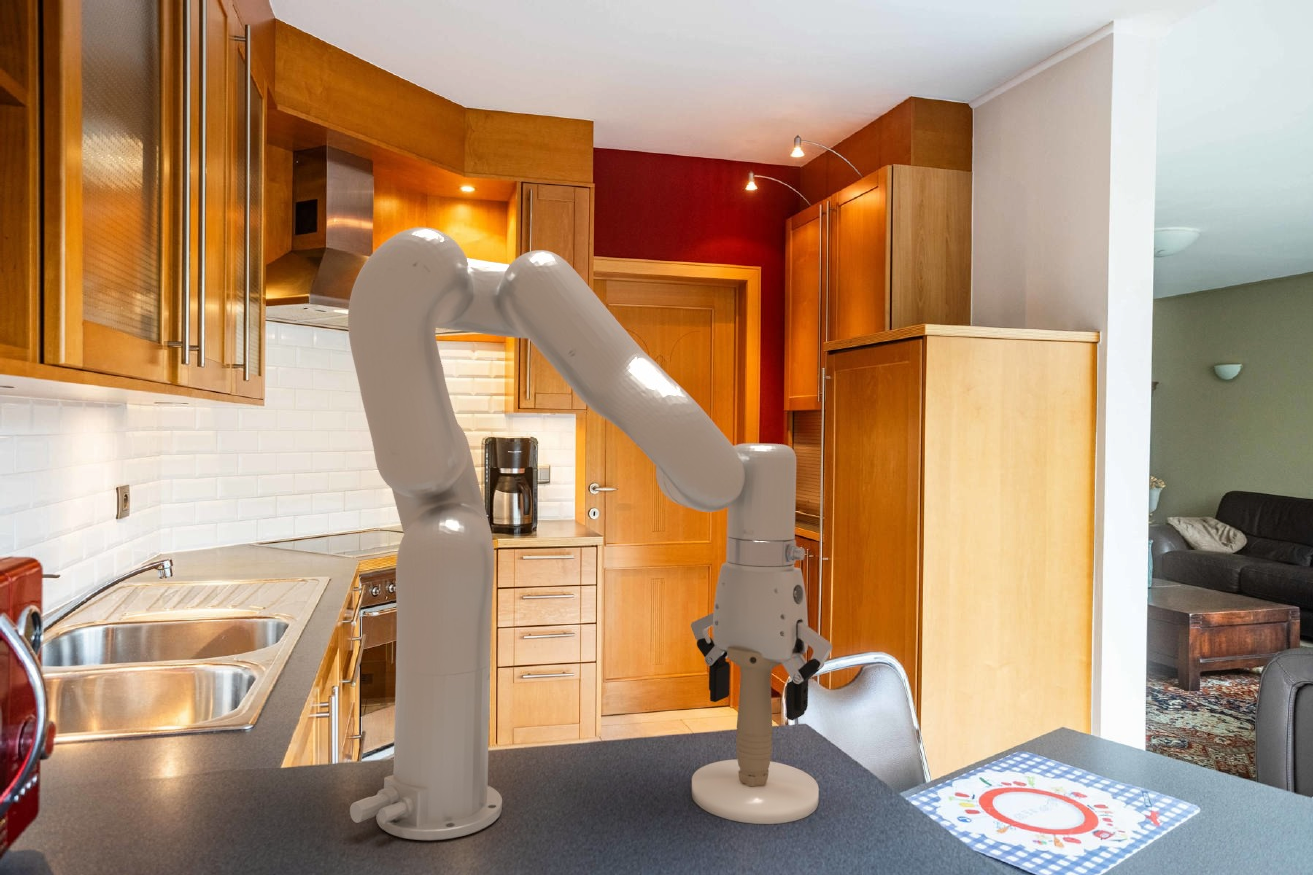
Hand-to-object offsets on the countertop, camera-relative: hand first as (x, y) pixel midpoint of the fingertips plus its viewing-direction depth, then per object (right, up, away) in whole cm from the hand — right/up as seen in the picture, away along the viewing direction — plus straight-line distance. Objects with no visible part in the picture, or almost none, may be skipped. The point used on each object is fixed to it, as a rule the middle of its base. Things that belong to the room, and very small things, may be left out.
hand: (756, 707), depth 95 cm
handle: (0, -8, 0) cm, 8 cm away
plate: (0, -10, 0) cm, 10 cm away
